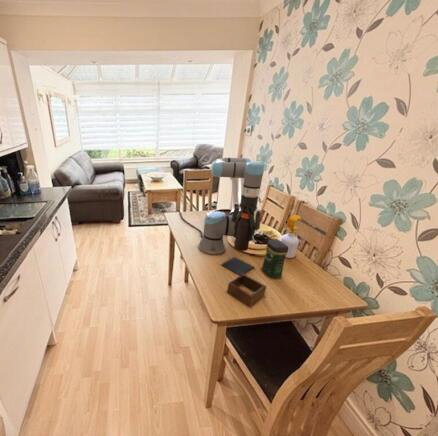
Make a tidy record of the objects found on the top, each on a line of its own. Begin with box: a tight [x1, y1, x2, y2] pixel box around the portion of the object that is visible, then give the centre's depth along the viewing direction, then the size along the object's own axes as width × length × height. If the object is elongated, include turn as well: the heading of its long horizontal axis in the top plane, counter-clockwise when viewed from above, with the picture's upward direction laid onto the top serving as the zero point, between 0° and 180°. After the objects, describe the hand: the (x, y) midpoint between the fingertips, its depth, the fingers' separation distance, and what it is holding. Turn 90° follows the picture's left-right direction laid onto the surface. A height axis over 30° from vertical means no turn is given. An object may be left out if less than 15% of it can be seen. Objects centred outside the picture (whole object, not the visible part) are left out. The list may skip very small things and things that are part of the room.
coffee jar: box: [261, 238, 288, 279], centre depth 121 cm, size 10×8×19 cm
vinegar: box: [233, 213, 252, 252], centre depth 121 cm, size 7×7×20 cm
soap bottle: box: [279, 214, 302, 259], centre depth 136 cm, size 9×9×25 cm
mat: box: [221, 257, 255, 276], centre depth 130 cm, size 12×12×1 cm
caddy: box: [226, 273, 267, 308], centre depth 109 cm, size 12×12×6 cm
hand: (242, 237), depth 122 cm, fingers closed on vinegar, 7 cm apart
